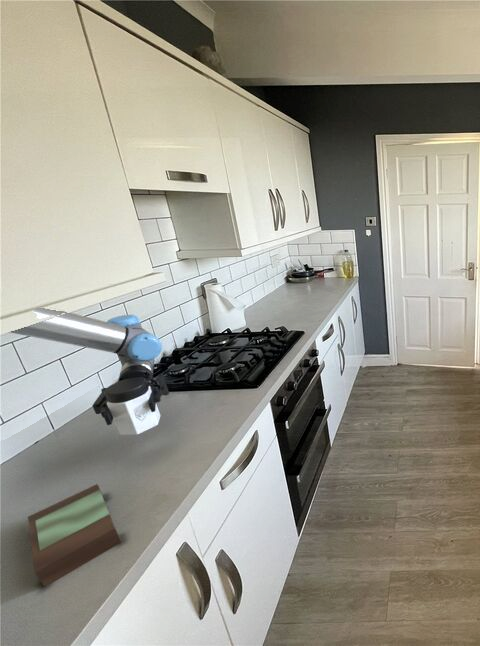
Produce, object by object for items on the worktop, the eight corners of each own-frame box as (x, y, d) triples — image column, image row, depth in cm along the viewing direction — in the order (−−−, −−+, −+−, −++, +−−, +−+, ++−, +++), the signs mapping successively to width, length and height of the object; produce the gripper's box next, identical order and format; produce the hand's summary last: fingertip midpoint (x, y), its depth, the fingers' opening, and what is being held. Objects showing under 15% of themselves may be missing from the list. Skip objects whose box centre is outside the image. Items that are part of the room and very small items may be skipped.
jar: (127, 440, 84) (109, 398, 80) (113, 430, 88) (96, 389, 84) (168, 420, 92) (154, 381, 87) (153, 411, 96) (139, 373, 91)
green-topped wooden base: (38, 533, 74) (27, 515, 72) (105, 499, 82) (97, 483, 80) (46, 590, 63) (34, 571, 61) (123, 545, 71) (114, 527, 69)
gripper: (182, 376, 108) (185, 411, 91) (94, 399, 97) (78, 443, 80) (175, 355, 106) (176, 386, 88) (84, 375, 94) (65, 416, 77)
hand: (130, 413), depth 84 cm, fingers closed on jar, 8 cm apart
